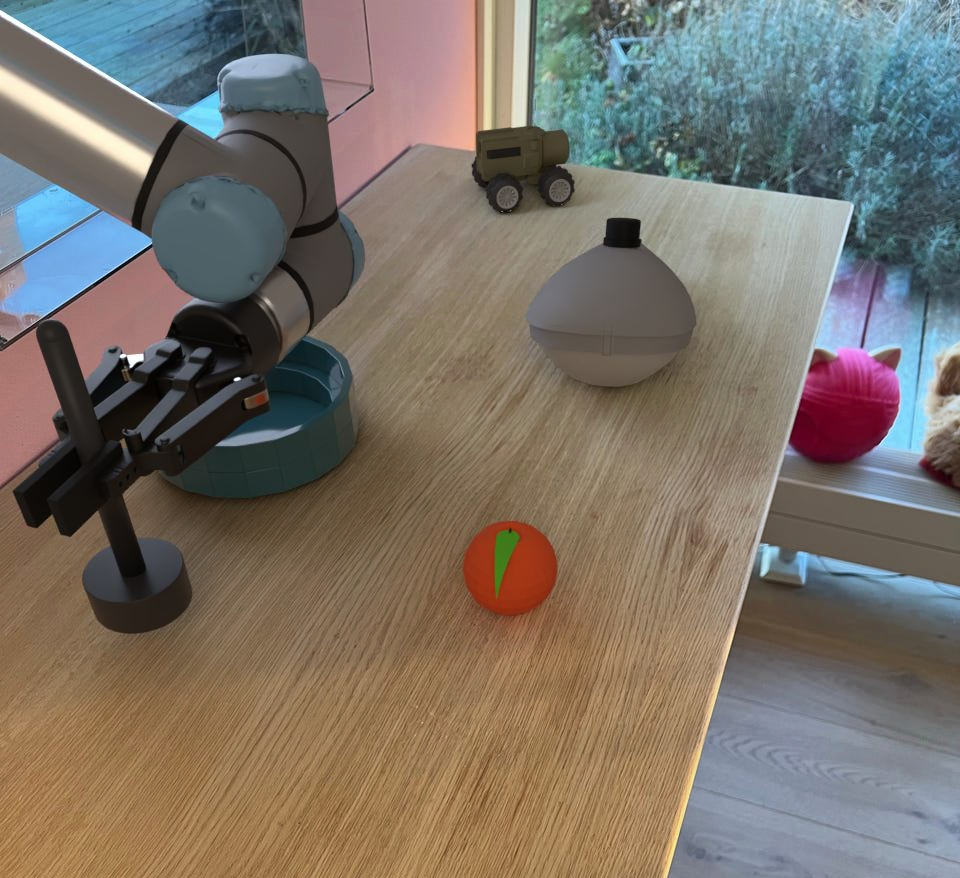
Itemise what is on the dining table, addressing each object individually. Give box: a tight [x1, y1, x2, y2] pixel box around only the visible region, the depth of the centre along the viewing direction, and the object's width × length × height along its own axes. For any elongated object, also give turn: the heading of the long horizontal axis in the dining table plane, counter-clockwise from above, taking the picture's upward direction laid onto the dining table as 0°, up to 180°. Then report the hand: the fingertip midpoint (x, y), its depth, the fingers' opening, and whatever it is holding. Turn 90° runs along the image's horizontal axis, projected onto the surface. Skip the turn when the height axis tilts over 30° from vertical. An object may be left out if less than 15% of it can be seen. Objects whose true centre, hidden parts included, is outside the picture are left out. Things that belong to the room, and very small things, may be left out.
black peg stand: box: [35, 318, 193, 635], centre depth 67 cm, size 7×7×22 cm
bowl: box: [157, 335, 360, 499], centre depth 92 cm, size 19×19×6 cm
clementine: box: [462, 520, 558, 617], centre depth 75 cm, size 8×7×7 cm
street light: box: [524, 217, 698, 388], centre depth 101 cm, size 30×16×14 cm, turn 171°
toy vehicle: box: [471, 98, 576, 212], centre depth 127 cm, size 10×11×12 cm
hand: (42, 513), depth 63 cm, fingers closed on black peg stand, 2 cm apart
